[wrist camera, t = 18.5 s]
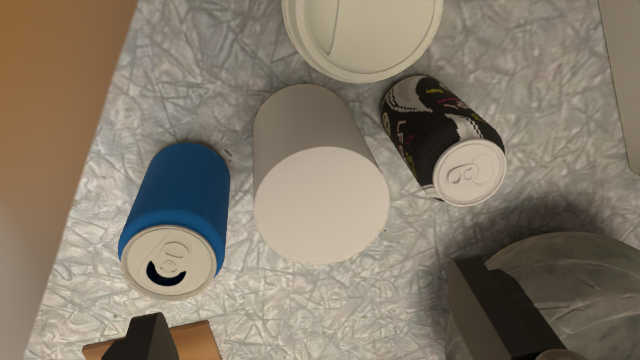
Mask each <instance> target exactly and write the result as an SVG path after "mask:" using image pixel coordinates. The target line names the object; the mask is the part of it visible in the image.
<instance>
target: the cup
mask: <svg viewBox="0 0 640 360" xmlns="http://www.w3.org/2000/svg"><path fill="white" fill-rule="evenodd" d="M253 190H254V219H255V224H256V227H257V229H258V232H259V234H260V236H261V237H262V239H263V240H264V241H265V243H266V244H267V245H268V246H269V247H270V248H271V249H272V250H273V251H275V252H276V253H277V254H279V255H280V256H282V257H284V258H286V259H288V260H291V261H294V262H297V263H301V264H307V265H326V264H333V263H337V262H340V261H343V260H346V259H348V258H351V257H353V256H355V255H356V254H358V253H360V252H361V251H363V250H364V249H365V248H367V247H368V246H369V245H370V244H371V243H372V242H373V241H374V240H375V239H376V238H377V236H378V235H379V234H380V232H381V231H382V229H383V227H384V225H385V223H386V220H387V217H388V214H389V209H390V194H389V189H388V186H387V183H386V181H385V178H384V177H383V175H382V173H381V171H380V169H379V167H378V165H377V163H376V161H375V159H374V157H373V155H372V153H371V151H370V149H369V148H368V146H367V144H366V142H365V140H364V138H363V136H362V134H361V132H360V130H359V128H358V126H357V124H356V122H355V120H354V119H353V117H352V115H351V113H350V111H349V109H348V107H347V105H346V104H345V103H344V101H343V100H342V99H341V98H340V97H339V96H338V95H336V94H335V93H334V92H332V91H331V90H329V89H327V88H324V87H322V86H318V85H313V84H296V85H291V86H288V87H285V88H283V89H281V90H279V91H277V92H275V93H274V94H273V95H271V96H270V97H269V98H268V99H267V100H266V101H265V102H264V103H263V105H262V106H261V107H260V109H259V111H258V113H257V115H256V117H255V120H254V125H253Z"/></svg>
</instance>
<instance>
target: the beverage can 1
mask: <svg viewBox="0 0 640 360" xmlns="http://www.w3.org/2000/svg"><path fill="white" fill-rule="evenodd" d="M229 192H230V174H229V170H228V168H227V166H226V164H225V162H224V161H223V159H222V158H221V157H220V156H219V155H218V154H217V153H216V152H214V151H213V150H211V149H210V148H208V147H205V146H203V145H200V144H195V143H178V144H174V145H170V146H168V147H166V148H164V149H163V150H161V151H160V152H159V153H157V154H156V156H155V157H154V158H153V159H152V161H151V163H150V165H149V167H148V170H147V172H146V175H145V177H144V179H143V182H142V184H141V187H140V189H139V192H138V194H137V197H136V199H135V202H134V204H133V206H132V209H131V211H130V214H129V216H128V219H127V221H126V224H125V226H124V229H123V231H122V233H121V236H120V239H119V243H118V255H119V260H120V263H121V269H122V273H123V275H124V277H125V279H126V281H127V282H128V283H129V285H130V286H131V287H132V288H133V289H135V290H136V291H137V292H139V293H140V294H142V295H144V296H146V297H148V298H151V299H154V300H159V301H166V302H174V301H182V300H186V299H190V298H192V297H194V296H196V295H198V294H200V293H201V292H203V291H204V290H205V289H206V288H207V287H208V286H209V285H210V284H211V282H212V280H213V279H214V278H215V277H216V275H217V274H218V273H219V271H220V269H221V267H222V265H223V262H224V258H225V244H226V231H227V218H228V205H229Z"/></svg>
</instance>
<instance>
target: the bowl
mask: <svg viewBox="0 0 640 360" xmlns="http://www.w3.org/2000/svg"><path fill="white" fill-rule="evenodd" d="M484 264H485V266H486V267H487V269H488V270H493V269H498V268H500V269H501V270H503V271H504V272H506V273H507V274H509V275H510V276H512V277H513V278H515V279H516V280H517V282H518V283H519V284H520V286H521V287H522V288H523V290H524V291H525V292H526V295H528V296H529V298H530V299H531V301H532V302H533V303H534V306H535V307H537V309H538V310H539V311H540V313H541V314H542V315H543V317H544V318H545V320H546V321H547V322H548V324H549V325H550V326H551V328H552V329H553V330H554V332H555V333H556V334H557V336H558V337H559V339H560V340H561V341H562V343H563V344H564V345H565V347H566V348H567V349H568V350H570V351H573V352H576V353H578V354H580V355H583V356H584V357H586V358H587V359H589V360H640V250H638V249H636V248H633V247H631V246H629V245H627V244H625V243H623V242H621V241H619V240H617V239H614V238H611V237H608V236H604V235H599V234H594V233H588V232H579V231H568V232H555V233H547V234H542V235H537V236H533V237H528V238H525V239H523V240H520V241H517V242H515V243H513V244H511V245H509V246H507V247H505V248H503V249H502V250H500V251H499V252H497V253H496V254H494V255H493V256H492V257H491V258H490V259H489V260H487V261H486V262H485V263H484ZM445 356H446V360H473V358H472V356H471V354H470V352H469V350H468V348H467V346H466V344H465V342H464V340H463V338H462V336H461V334H460V332H459V330H458V328H457V326H456V324H455V322H454V320H453V317H452V314H451V312H450V315H449V318H448V323H447V328H446V341H445Z"/></svg>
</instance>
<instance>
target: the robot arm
mask: <svg viewBox="0 0 640 360" xmlns="http://www.w3.org/2000/svg"><path fill="white" fill-rule="evenodd" d="M448 271H449V305H450V310H451V314H452V317H453V320H454V322H455V324H456V326H457V328H458V330H459V332H460V334H461V336H462V338H463V340H464V342H465V344H466V346H467V348H468V350H469V352H470V354H471V356H472V358H473V360H589V359H587V358H586V357H584V356H583V355H580V354H578V353H576V352H573V351H570V350H568V349H567V348H566V347H565V345H564V344H563V343H562V341H561V340H560V339H559V337H558V336H557V334H556V333H555V332H554V330H553V329H552V328H551V326H550V325H549V324H548V322H547V321H546V320H545V318H544V317H543V315H542V314H541V313H540V311H539V310H538V309H537V307H535V306H534V303H533V302H532V301H531V299H530V298H529V296H528V295H526V292H525V291H524V290H523V288H522V287H521V286H520V284H519V283H518V282H517V280H516V279H515V278H513V277H512V276H510V275H509V274H507V273H506V272H504V271H503V270H501V269H500V268H498V269H493V270H488V269H487V267H486V266H485V264H484V263H483V261H482V260H481V258H480V257H479V256H478V255H477V254H471V255H466V256H461V257H455V258H450V259H449V263H448ZM101 360H179V355H178V351H177V348H176V346H175V343H174V340H173V338H172V335H171V332H170V330H169V327H168V325H167V322H166V319H165V317H164V315H163V313H161V312H158V313H153V314H147V315H142V316H137V317H133V318H132V319H131V321H130V324H129V328H128V331H127V334H126V338H124V339H119V340H114V342H113V343H112V344H111V346H110V347H109V348H108V349H107V351H106V352H105V353H104V355H103V356H102V357H101Z"/></svg>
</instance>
